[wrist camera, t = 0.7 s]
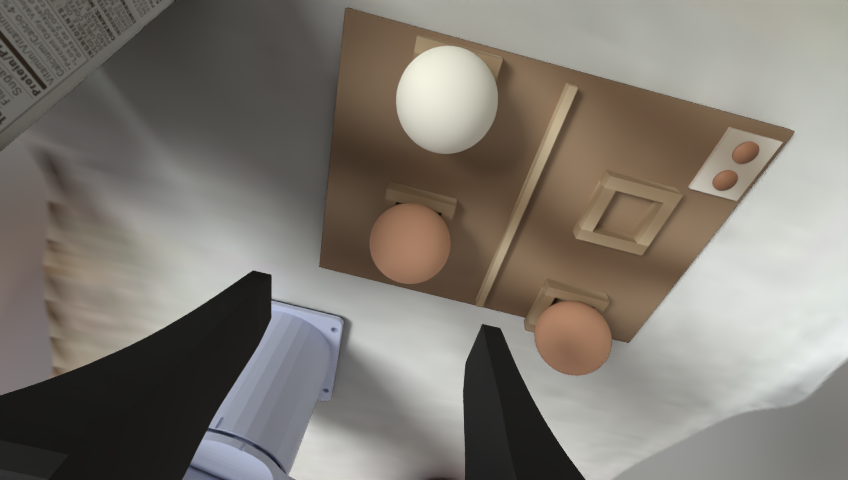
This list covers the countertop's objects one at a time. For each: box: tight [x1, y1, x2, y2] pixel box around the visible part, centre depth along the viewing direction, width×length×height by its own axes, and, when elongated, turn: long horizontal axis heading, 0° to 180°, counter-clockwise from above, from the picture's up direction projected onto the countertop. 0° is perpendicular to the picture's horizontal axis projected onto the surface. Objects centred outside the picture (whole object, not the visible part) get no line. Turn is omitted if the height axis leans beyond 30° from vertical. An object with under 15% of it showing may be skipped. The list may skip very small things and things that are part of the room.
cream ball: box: [396, 46, 498, 154], centre depth 15 cm, size 4×4×4 cm
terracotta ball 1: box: [369, 203, 451, 284], centre depth 19 cm, size 4×4×4 cm
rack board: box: [319, 8, 794, 343], centre depth 20 cm, size 14×20×1 cm
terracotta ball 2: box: [534, 301, 612, 375], centre depth 22 cm, size 4×4×4 cm
